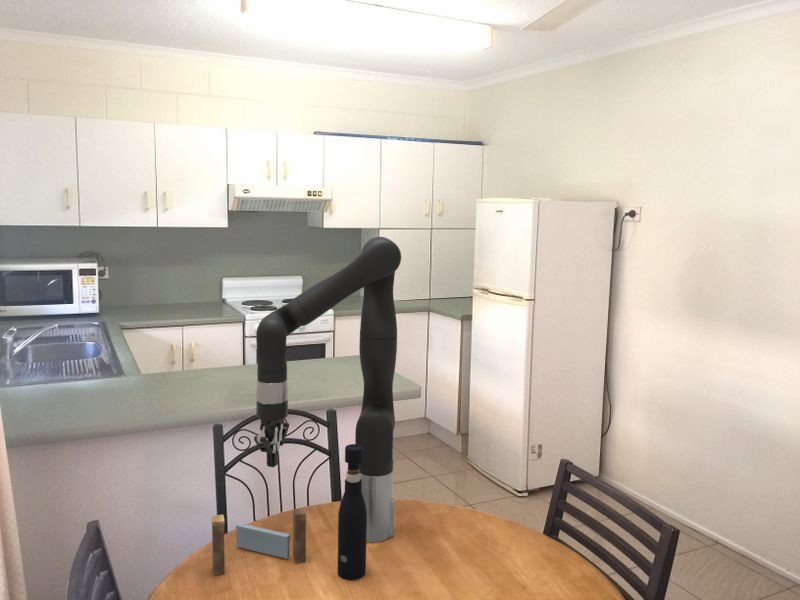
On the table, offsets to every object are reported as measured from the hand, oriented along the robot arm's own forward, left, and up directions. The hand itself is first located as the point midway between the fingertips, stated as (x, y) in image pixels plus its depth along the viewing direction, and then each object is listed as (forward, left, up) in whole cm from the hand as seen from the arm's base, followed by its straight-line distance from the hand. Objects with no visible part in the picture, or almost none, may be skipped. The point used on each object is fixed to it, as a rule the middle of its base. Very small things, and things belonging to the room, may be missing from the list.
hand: (272, 465), depth 166 cm
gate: (+3, +7, -18) cm, 20 cm away
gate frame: (+5, +12, -19) cm, 23 cm away
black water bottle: (-15, +21, -19) cm, 32 cm away
